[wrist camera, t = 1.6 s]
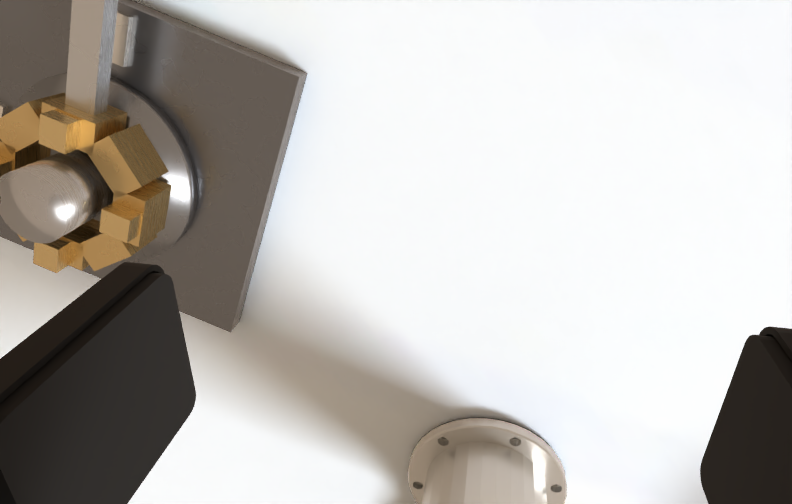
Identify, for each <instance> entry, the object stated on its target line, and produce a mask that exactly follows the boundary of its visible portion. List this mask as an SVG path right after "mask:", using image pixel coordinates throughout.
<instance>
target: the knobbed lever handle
mask: <svg viewBox="0 0 792 504" xmlns="http://www.w3.org/2000/svg"><path fill="white" fill-rule="evenodd" d="M117 9H118V0H72V9H71V24H70V39H69V54H68V69H67V84H66V94H65V92H64V93H60V94H56V95H52V96H48V97H45V98H41V99H37V100H33V101H29V102H27V103H25V104H23V105H21V106H20V107H18V108H16V109H15V110H13V111H11V112H9V113H8V114H6V115H4V116H3V117H1V118H0V177H1V176H2V175H4V174H6V173H8V172H10V171H13V170H16V169H18V168H21V167H23V166H26V165H28V164H31V163H33V162H36V161H39V160H41V159H44V158H46V157H49V156H50V153H51V149H53V150H56V151H58V152H60V153H63V154H67V153H69V152H72V151H74V150H77V149H78V150H80V151H82V152H85V153H87V154H88V155H89V157H90V158H91V160H92V161H93V163H94V164H95V166H96V167H97V169H98V170H99V172H100V173H101V175H102V176H103V178H104V180H105V181H106V183H107V184H108V186H109V187H110V189H111V190H112V192H113V193H114V196H113V203H111V204H110V205H108V206H106V207H104V208H103V209H102V210H101V219H100V221H98V220H95V219H91V220H90V221H88V222H86V223H85V224H83V225H81V226H79V227H78V228H76V229H74V230H73V231H71V232H69V233H67V234H66V235H64V236H62V237H60V238H59V239H57V240H55V241H53V242H51V243H35V242H34V259H33V263H34V264H36V265H38V266H41V267H43V268H46V269H48V270H50V271H53V272H55V273H57V272H59V271H60V270H62V269H64V268H65V267H67V266H68V265H69V266H72V267H74V268H76V269H79V270H81V271H82V270H83V269H85V268H86V267H88V266H89V265H90V266H91V268H92V269H93V270H94V271H96V270H99V269H101V268H104V267H106V266H108V265H111V264H113V263H116V262H118V261H121V260H123V259H126V258H128V257H130V256H132V255H134V254H135V253H136V252H138V251H139V250H140V249H142V248H143V247H144V246H146V245H147V244H148V243H150V242H151V241H153V240H154V239H155V238H157V237H158V236H157V235H156V234H157V233H158V232H160V231H161V230H162V229H164V228H165V222H166V216H167V211H168V205H169V199H170V194H171V188H172V185H170V184H168V183H165V182H163V181H161V180H158V179H156V178H158V177H160V176H162V175H163V174H165V173H167V172H169V171H168V169H167V168H166V166H165V164H164V163H163V161H162V159H161V158H160V156H159V154H158V153H157V151H156V150H155V148H154V146H153V145H152V143H151V141H150V140H149V138H148V136H147V135H146V133H145V132H144V130H143V128H142V127H141V125H140V124H137V125H135V126H132V127H130V128H127V129H125V128H126V120H127V112H124V111H122V110H119V109H117V108H115V107H112V106H110V105H108V95H109V86H110V76H111V66H112V57H113V47H114V38H115V28H116V19H117ZM18 236H19V237H20V238H21V240H22V241H23V242H24V241H26V240H27V239H25V238H23V237H21V236H20V235H18Z"/></svg>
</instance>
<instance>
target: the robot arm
mask: <svg viewBox="0 0 792 504" xmlns="http://www.w3.org/2000/svg"><path fill="white" fill-rule="evenodd" d="M195 399H196V391H195V386H194V381H193V376H192V372H191V367H190V362H189V357H188V352H187V347H186V343H185V338H184V333H183V328H182V323H181V318H180V314H179V309H178V304H177V299H176V294H175V289H174V284H173V281H172V278H171V277H170V276H169V275H167V274H165V273H164V270H163V269H162V268H161V267H160V266H158V265H154V264H144V263H134V262H124V263H122V264H120V265H119V266H118V267H116V268H115V269H114V270H113V271H111V272H110V273H109V274H107V275H106V276H105V277H104V278H102V279H101V280H100V281H99V282H97V283H96V284H95V285H93V286H92V287H91V288H90V289H88V290H87V291H86V292H85V293H83V294H82V295H81V296H80V297H78V298H77V299H76V300H74V301H73V302H72V303H71V304H69V305H68V306H67V307H66V308H64V309H63V310H62V311H60V312H59V313H58V314H57V315H55V316H54V317H53V318H52V319H50V320H49V321H48V322H47V323H45V324H44V325H43V326H41V327H40V328H39V329H38V330H36V331H35V332H34V333H33V334H31V335H30V336H29V337H27V338H26V339H25V340H24V341H22V342H21V343H20V344H19V345H17V346H16V347H15V348H14V349H12V350H11V351H10V352H8V353H7V354H6V355H5V356H3V357H2V358H1V359H0V504H127V503H128V502H129V500H130V499H131V498H132V496H133V495H134V493H135V492H136V490H137V489H138V488H139V486H140V485H141V483H142V482H143V481H144V479H145V478H146V476H147V475H148V473H149V472H150V471H151V469H152V468H153V466H154V465H155V463H156V462H157V461H158V459H159V458H160V456H161V455H162V453H163V452H164V451H165V449H166V448H167V446H168V445H169V443H170V442H171V441H172V439H173V438H174V436H175V435H176V433H177V432H178V431H179V429H180V428H181V426H182V425H183V423H184V422H185V421H186V419H187V418H188V416H189V415H190V413H191V412H192V410H193V407H194V404H195ZM700 475H701V483H702V487H703V490H704V492H705V495H706V498H707V501H708V504H792V329H787V328H777V327H766V328H764V329H763V330H762V331H761V332H760V334H759V335H751V336H749V338H748V339H747V340H746V342H745V345H744V347H743V350H742V353H741V356H740V358H739V361H738V364H737V367H736V369H735V372H734V375H733V377H732V380H731V383H730V386H729V388H728V391H727V394H726V397H725V399H724V402H723V405H722V407H721V410H720V413H719V416H718V418H717V421H716V424H715V426H714V429H713V432H712V435H711V437H710V440H709V443H708V446H707V448H706V451H705V454H704V456H703V459H702V463H701V469H700ZM408 483H409V486H410V490H411V493H412V495H413V497H414V498H415V500H416V502H417V503H418V504H564V503H565V500H566V496H567V484H566V477H565V471H564V468H563V466H562V463H561V461H560V459H559V458H558V456H557V455H556V453H555V452H554V450H553V449H552V448H551V447H550V446H549V445H548V444H547V443H546V442H545V441H544V440H542V439H541V438H539V437H538V436H536V435H535V434H533V433H532V432H530V431H528V430H526V429H524V428H522V427H520V426H518V425H515V424H511V423H508V422H505V421H501V420H494V419H487V418H468V419H462V420H455V421H452V422H449V423H446V424H443V425H441V426H439V427H437V428H435V429H433V430H432V431H430V432H429V433H427V434H426V435H425V436H424V437H423V438H422V439H421V440H420V441H419V442H418V444H417V445H416V447H415V448H414V450H413V453H412V455H411V458H410V463H409V468H408Z"/></svg>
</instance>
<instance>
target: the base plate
mask: <svg viewBox="0 0 792 504" xmlns="http://www.w3.org/2000/svg"><path fill="white" fill-rule="evenodd" d="M71 9H72V0H0V118H1V117H3V116H4V115H6V114H8V113H9V112H11V111H13V110H15V109H16V108H18V107H20V106H21V105H23V104H25V103H27V102H29V101H33V100H37V99H41V98H45V97H48V96H52V95H56V94H60V93H64V92H65V94H66V84H67V69H68V54H69V39H70V24H71ZM306 76H307V73H306V72H303V71H301V70H298V69H296V68H294V67H291V66H289V65H286V64H284V63H282V62H279V61H277V60H274V59H272V58H270V57H267V56H265V55H262V54H260V53H258V52H255V51H253V50H250V49H248V48H246V47H243V46H241V45H238V44H236V43H234V42H231V41H229V40H226V39H224V38H222V37H219V36H217V35H214V34H212V33H209V32H207V31H205V30H202V29H200V28H197V27H195V26H193V25H190V24H188V23H185V22H183V21H181V20H178V19H176V18H173V17H171V16H169V15H166V14H164V13H161V12H159V11H157V10H154V9H152V8H149V7H147V6H145V5H142V4H140V3H137V2H135V1H132V0H118V9H117V19H116V28H115V38H114V47H113V57H112V66H111V76H110V86H109V95H108V105H110V106H112V107H115V108H117V109H119V110H122V111H124V112H127V120H126V128H125V129H127V128H130V127H132V126H135V125H137V124H140V125H141V127H142V128H143V130H144V132H145V133H146V135H147V136H148V138H149V140H150V141H151V143H152V145H153V146H154V148H155V150H156V151H157V153H158V154H159V156H160V158H161V159H162V161H163V163H164V164H165V166H166V168H167V169H168V171H169V172H167V173H165V174H163V175H162V176H160V177H158V178H156V179H158V180H161V181H163V182H165V183H168V184H170V185H172V188H171V194H170V199H169V205H168V211H167V216H166V222H165V228H164V229H162V230H161V231H160V232H158V233H157V234H156V235H157V236H158V237H157V238H155V239H154V240H153V241H151V242H150V243H148V244H147V245H146V246H144V247H143V248H142V249H140V250H139V251H138V252H136V253H135V254H134V255H132V256H130V257H128V258H126V259H123V260H121V261H118V262H116V263H113V264H111V265H108V266H106V267H104V268H101V269H99V270H96V271H94V270H93V269H92V268H91V266H90V265H89V266H88V267H86V268H85V269H83V270H82V271H85V272H87V273H89V274H92V275H94V276H97V277H99V278H104V277H105V276H106V275H107V274H109V273H110V272H111V271H113V270H114V269H115V268H116V267H118V266H119V265H120V264H122V263H124V262H134V263H144V264H154V265H158V266H160V267H161V268H162V269H163V270H164V273H165V274H167V275H169V276H170V277H171V278H172V281H173V284H174V289H175V294H176V299H177V304H178V309H179V311H181V312H183V313H186V314H188V315H191V316H193V317H195V318H198V319H200V320H203V321H205V322H207V323H210V324H212V325H215V326H217V327H220V328H222V329H224V330H227V331H229V332H231V331H232V330H233V329H234V327H235V326H236V325H237V323H238V322H239V320H240V317H241V313H242V309H243V306H244V302H245V298H246V295H247V291H248V287H249V284H250V280H251V277H252V273H253V269H254V266H255V262H256V258H257V255H258V251H259V247H260V244H261V240H262V237H263V233H264V229H265V226H266V222H267V218H268V215H269V211H270V207H271V204H272V200H273V196H274V193H275V189H276V186H277V182H278V178H279V175H280V171H281V167H282V164H283V160H284V156H285V153H286V149H287V146H288V142H289V138H290V135H291V131H292V127H293V124H294V120H295V116H296V113H297V109H298V106H299V102H300V98H301V95H302V91H303V87H304V84H305V80H306ZM113 196H114V193H113V192H112V190H111V189H110V187H109V186H108V184H107V183H106V181H105V180H104V178H103V176H102V175H101V173H100V172H99V170H98V169H97V167H96V166H95V164H94V163H93V161H92V160H91V158H90V157H89V155H88V154H87V153H85V152H82V151H80V150H78V149H77V150H74V151H72V152H69V153H67V154H63V153H60V152H58V151H56V150H53V149H51V153H50V156H49V157H46V158H44V159H41V160H39V161H36V162H33V163H31V164H28V165H26V166H23V167H21V168H18V169H16V170H13V171H10V172H8V173H6V174H4V175H2V176H1V177H0V237H3V238H5V239H8V240H10V241H12V242H15V243H17V244H20V245H22V246H24V247H27V248H29V249H32V250H34V242H35V243H51V242H53V241H55V240H57V239H59V238H60V237H62V236H64V235H66V234H67V233H69V232H71V231H73V230H74V229H76V228H78V227H79V226H81V225H83V224H85V223H86V222H88V221H90V220H91V219H95V220H98V221H100V219H101V210H102V209H103V208H104V207H106V206H108V205H110V204H111V203H113ZM18 235H20V236H21V237H23V238H25V239H27V240H26V241H24V242H23V241H22V240H21V238H20V237H19V236H18Z"/></svg>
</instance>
